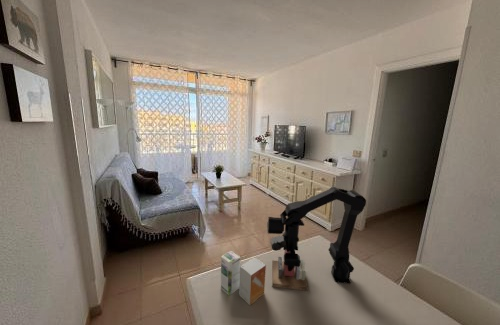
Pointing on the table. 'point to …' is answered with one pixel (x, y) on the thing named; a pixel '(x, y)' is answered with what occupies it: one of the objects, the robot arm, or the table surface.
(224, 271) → the syrup box
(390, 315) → the table surface
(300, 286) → the shelf
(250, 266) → the small box
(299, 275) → the shelved books
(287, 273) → the red flat-faced block
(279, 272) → the bookend
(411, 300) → the table surface
